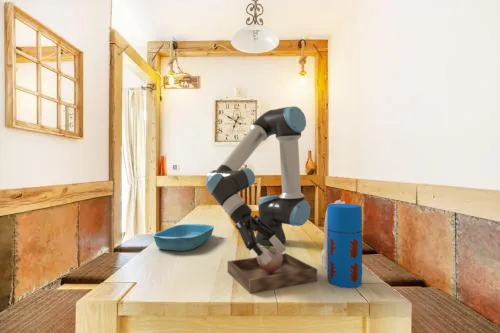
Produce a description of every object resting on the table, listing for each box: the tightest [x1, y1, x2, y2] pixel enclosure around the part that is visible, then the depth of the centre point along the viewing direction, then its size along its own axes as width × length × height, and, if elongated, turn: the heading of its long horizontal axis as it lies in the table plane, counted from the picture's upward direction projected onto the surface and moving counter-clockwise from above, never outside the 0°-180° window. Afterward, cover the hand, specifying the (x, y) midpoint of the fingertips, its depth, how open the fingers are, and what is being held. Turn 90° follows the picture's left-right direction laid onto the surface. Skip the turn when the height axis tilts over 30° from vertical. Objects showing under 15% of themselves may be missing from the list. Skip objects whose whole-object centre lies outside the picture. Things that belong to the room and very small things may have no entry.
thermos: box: [326, 203, 363, 289], centre depth 101 cm, size 11×11×25 cm
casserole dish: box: [152, 223, 215, 252], centre depth 151 cm, size 37×22×7 cm, turn 167°
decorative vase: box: [320, 199, 346, 269], centre depth 117 cm, size 11×11×25 cm
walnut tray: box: [227, 253, 318, 294], centre depth 106 cm, size 24×20×4 cm
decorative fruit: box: [256, 244, 283, 273], centre depth 106 cm, size 9×8×10 cm
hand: (276, 256), depth 105 cm, fingers open, 13 cm apart
